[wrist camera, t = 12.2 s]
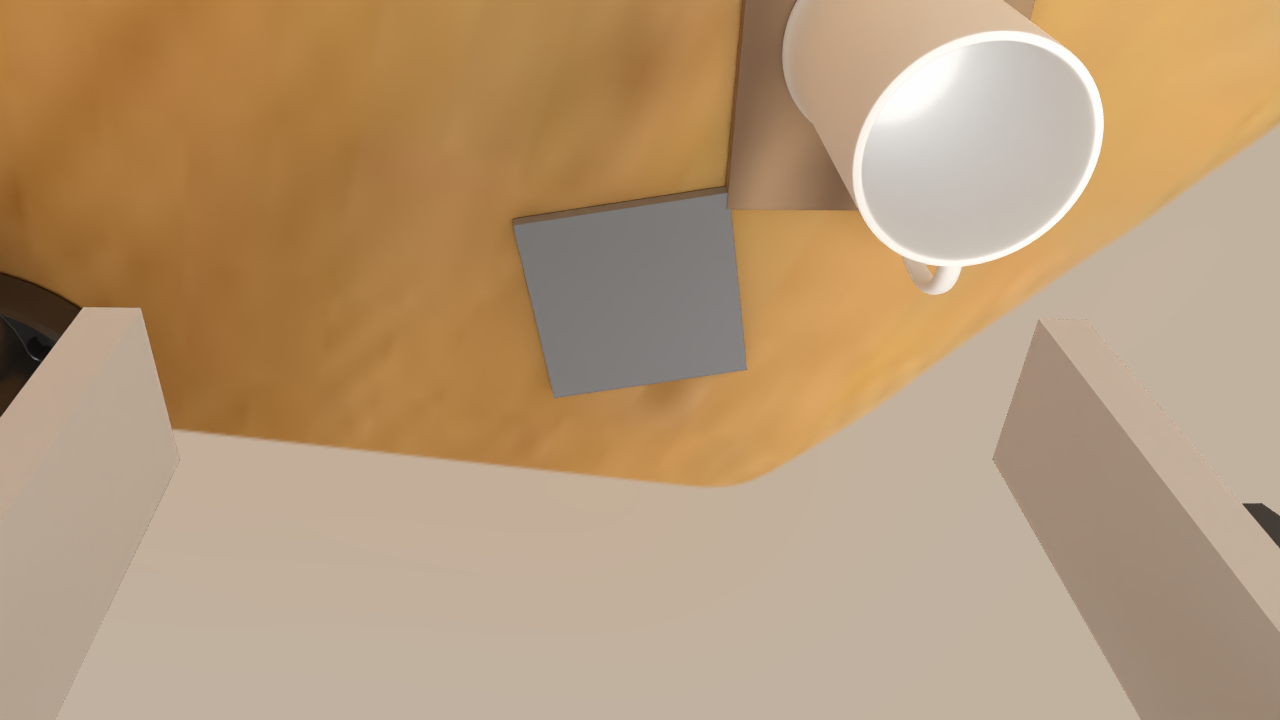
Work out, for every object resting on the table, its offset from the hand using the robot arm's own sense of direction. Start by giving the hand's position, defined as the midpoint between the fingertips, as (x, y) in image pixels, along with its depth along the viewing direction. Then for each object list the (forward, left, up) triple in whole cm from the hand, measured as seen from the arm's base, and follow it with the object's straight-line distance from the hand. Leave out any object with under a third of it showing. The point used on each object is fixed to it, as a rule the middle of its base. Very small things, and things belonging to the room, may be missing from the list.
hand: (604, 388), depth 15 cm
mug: (+12, -5, -29) cm, 32 cm away
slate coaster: (+2, -16, -30) cm, 34 cm away
